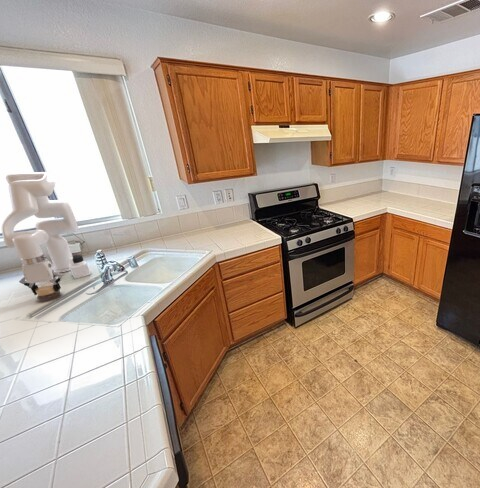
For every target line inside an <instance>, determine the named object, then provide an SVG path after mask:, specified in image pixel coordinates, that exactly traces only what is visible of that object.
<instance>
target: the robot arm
mask: <svg viewBox="0 0 480 488" xmlns="http://www.w3.org/2000/svg"><path fill="white" fill-rule="evenodd" d="M5 180H6V182H7V184H8V193H9V198H10V203H11V208H12V211H11V212H10V213H9V214H8V215H7V216H6V218H5V219H4V220H3V222H2V224H1V233H2V239H3V242H4V244H5V246H6V247H8V248H10V249H15V250H16V252H17V255H18V256H19V259H20V261H21V263H22V264H21V270H22V275H23V277H22V278H21V279H20V280H19V281H18V283H20V284H22V285H23V286H25V287H28V288H29V289H30V290H31V292H32V293H33V295H34V296H38V295H37V293H36V291H35V289H36V288H38V287H39V286H38V285H37V283H43V282H44V283H45V282H50V283H51V284H54V285H53V287H54V289H55V292H58V291H59V290H60V291H61V285H60V281H61V280H62V279H63V277H64V274H63V273H66V272H71V270H70V267H69V264H70V262H69V260H68V259H69V258H70V257H72V256H74V255H73V253H72V250H71V248H70V245H69V242H68V240H67V239H66V238H65V237H63V236H62V235H65V234H73V233H76V232H77V231H78V230H79V225H78V223H77V220H76V217H75V214H74V212H73V210H72V208H71V207H72V206H71V205H70V204H69V202H68V201H66V200H64V199H53V200H50V198H49V197H50V196H51V195H52V194H53V192H54V190H55V187H56V180H55V177H54V175H52V174H51V172H48V171H39V172H37V171H36V172H16V173H10V174H7V175H6V176H5ZM33 216H34V217H36V218H38V219H42V220H39V221H37V222H36V223H35V229H30V230H23V231H22V230H21V231H14V230H15V227H16V226H17V225H18V224H19V223H20V222H22V221H24V220H26V219H28V218H30V217H33ZM42 245H45V248H46V250H47V253H48V255H49V256H48V255H45V254H44V252H43V250H42V247H41V246H42ZM49 257H50V260H51V261H50V260H49ZM51 262H52V263H51Z"/></svg>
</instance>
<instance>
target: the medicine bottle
mask: <svg viewBox="0 0 480 488" xmlns="http://www.w3.org/2000/svg"><path fill="white" fill-rule="evenodd" d="M68 260H69V262H70V264H69V267H70V272H71V275H72V276H73V278H74V279H75V280H76V279H80V278H84V277H86V276H91V271H90V268H89V266H88V263H87V262H86V261H85V260H84V258H83V255H80V254H75V255H73V256H72V257H70V258H69V259H68Z"/></svg>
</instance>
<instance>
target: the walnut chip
mask: <svg viewBox="0 0 480 488" xmlns="http://www.w3.org/2000/svg"><path fill="white" fill-rule="evenodd" d="M61 296H62V292H61V289H60V290H59V291H58V292H53V293H51V294H48V295H42V296H39V295H36V299H37V301H38V302H39V303H46V302H50V301H53V300H57V299H58V298H60V297H61Z"/></svg>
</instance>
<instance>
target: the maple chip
mask: <svg viewBox="0 0 480 488" xmlns="http://www.w3.org/2000/svg"><path fill="white" fill-rule="evenodd" d="M53 285H54V284H53V283H47V284H46V283H45V284H43V285H40V286H38V288H36V289H35V291H36V293H37V295H36V296H38V295H39V296H42V295H48V294H51V293H53V292H55V289H54V287H53Z"/></svg>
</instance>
